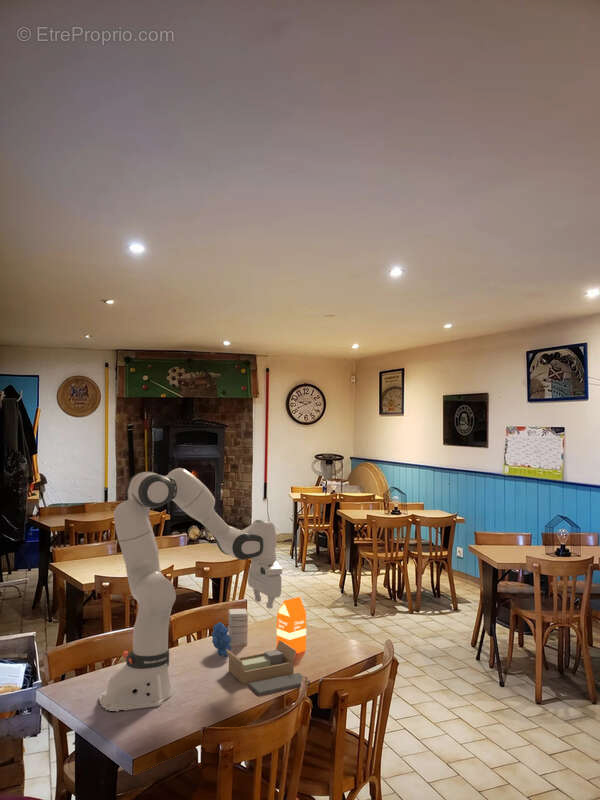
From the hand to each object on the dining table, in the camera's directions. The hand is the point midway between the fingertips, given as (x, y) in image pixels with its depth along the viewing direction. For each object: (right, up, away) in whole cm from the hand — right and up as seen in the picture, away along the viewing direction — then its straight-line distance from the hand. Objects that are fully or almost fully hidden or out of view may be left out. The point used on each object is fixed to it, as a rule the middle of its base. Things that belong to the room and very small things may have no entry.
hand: (263, 604), depth 217 cm
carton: (-1, -24, -2) cm, 24 cm away
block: (-1, -24, -2) cm, 24 cm away
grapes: (-18, -24, +14) cm, 33 cm away
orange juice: (+10, -25, +20) cm, 34 cm away
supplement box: (-12, -25, +29) cm, 40 cm away
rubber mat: (+6, -23, -13) cm, 27 cm away
